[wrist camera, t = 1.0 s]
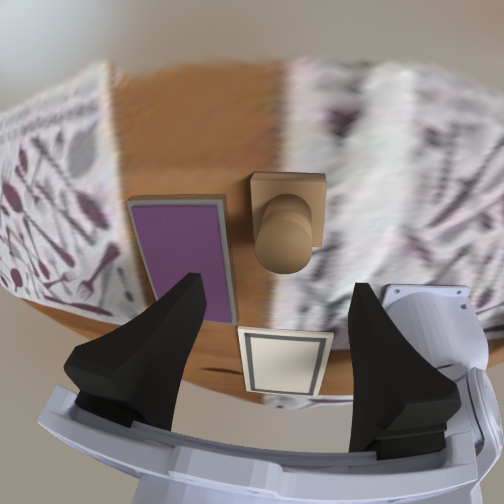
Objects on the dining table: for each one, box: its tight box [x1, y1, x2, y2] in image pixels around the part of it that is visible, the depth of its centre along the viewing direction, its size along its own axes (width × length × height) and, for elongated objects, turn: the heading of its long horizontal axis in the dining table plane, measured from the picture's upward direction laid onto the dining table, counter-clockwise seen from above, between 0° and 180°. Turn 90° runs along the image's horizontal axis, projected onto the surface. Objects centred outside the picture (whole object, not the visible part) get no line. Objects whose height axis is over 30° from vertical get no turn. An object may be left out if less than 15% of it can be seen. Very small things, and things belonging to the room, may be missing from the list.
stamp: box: [250, 172, 327, 274], centre depth 19 cm, size 5×5×6 cm
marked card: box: [238, 326, 334, 397], centre depth 33 cm, size 10×14×1 cm
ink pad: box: [127, 194, 239, 325], centre depth 26 cm, size 8×13×1 cm, turn 3°
